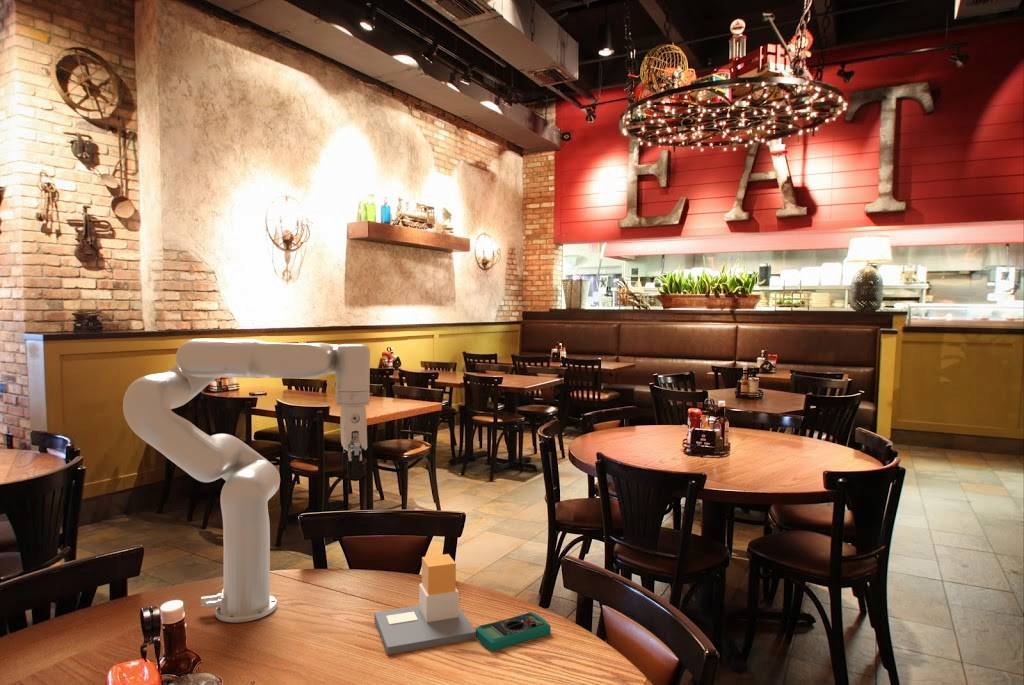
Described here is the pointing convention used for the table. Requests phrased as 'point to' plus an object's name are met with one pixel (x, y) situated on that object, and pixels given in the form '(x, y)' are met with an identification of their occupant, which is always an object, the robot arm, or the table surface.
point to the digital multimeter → (512, 631)
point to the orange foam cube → (438, 574)
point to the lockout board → (424, 623)
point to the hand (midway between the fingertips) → (352, 473)
